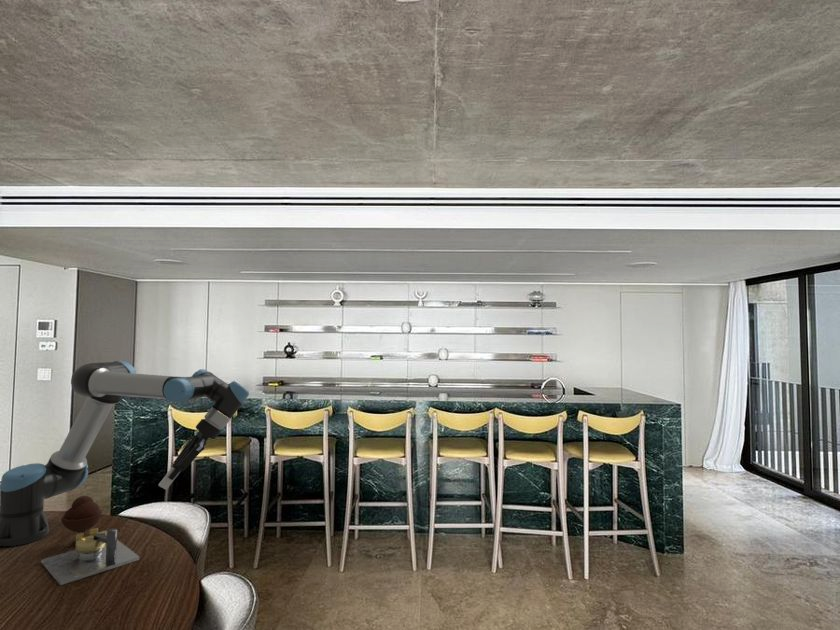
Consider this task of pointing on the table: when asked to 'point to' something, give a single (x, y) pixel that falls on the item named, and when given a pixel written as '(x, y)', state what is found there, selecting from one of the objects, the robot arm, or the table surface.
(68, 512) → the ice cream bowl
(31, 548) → the table surface
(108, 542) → the multicoloured piece
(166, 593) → the table surface
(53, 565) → the mounting plate
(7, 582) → the table surface
